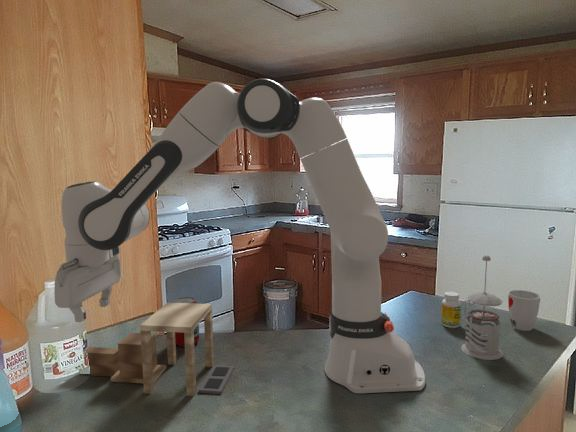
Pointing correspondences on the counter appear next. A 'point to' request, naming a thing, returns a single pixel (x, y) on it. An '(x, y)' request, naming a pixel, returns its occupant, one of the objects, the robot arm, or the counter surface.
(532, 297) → the cup
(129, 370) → the wooden step block
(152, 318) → the small wooden table
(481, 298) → the french press
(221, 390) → the pit board
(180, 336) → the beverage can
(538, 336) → the counter surface
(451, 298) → the supplement bottle
